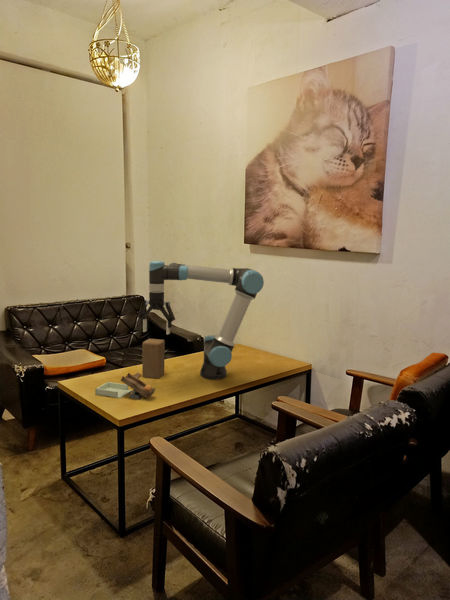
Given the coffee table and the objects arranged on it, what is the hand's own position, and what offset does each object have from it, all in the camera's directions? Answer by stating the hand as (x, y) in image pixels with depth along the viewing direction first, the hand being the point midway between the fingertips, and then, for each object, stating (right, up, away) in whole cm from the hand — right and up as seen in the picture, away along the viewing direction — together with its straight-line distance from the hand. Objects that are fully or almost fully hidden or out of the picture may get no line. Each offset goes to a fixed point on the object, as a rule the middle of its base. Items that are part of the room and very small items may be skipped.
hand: (156, 332), depth 234 cm
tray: (-20, -29, -8) cm, 36 cm away
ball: (-2, -26, -14) cm, 30 cm away
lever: (-7, -25, -8) cm, 28 cm away
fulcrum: (-8, -30, -11) cm, 33 cm away
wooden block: (-5, -26, +21) cm, 33 cm away
